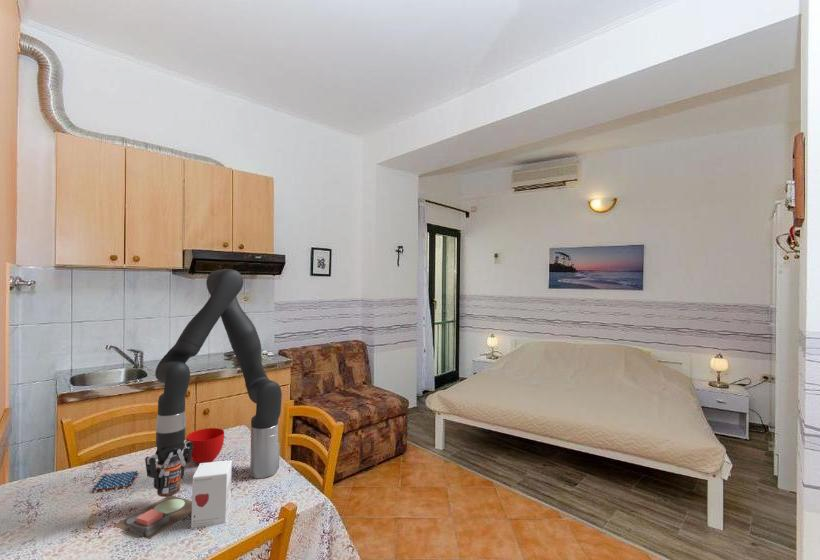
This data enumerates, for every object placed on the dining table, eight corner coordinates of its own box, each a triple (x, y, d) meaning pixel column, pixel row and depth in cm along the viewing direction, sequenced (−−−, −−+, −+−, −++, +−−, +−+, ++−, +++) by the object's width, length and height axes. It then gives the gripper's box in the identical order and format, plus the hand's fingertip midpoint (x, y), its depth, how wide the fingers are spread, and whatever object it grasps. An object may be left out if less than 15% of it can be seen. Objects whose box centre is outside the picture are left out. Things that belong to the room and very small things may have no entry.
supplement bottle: (169, 499, 113) (170, 459, 113) (152, 496, 114) (153, 457, 114) (185, 488, 119) (186, 451, 119) (168, 486, 120) (169, 449, 120)
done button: (152, 516, 110) (152, 508, 110) (163, 519, 108) (163, 512, 108) (136, 525, 106) (136, 517, 106) (147, 528, 104) (147, 521, 104)
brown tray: (170, 497, 123) (170, 488, 123) (204, 508, 118) (204, 498, 118) (112, 529, 107) (112, 518, 107) (148, 542, 102) (149, 531, 102)
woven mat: (130, 489, 128) (130, 483, 128) (91, 495, 125) (91, 489, 125) (139, 475, 138) (139, 469, 138) (103, 480, 134) (103, 474, 134)
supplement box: (189, 532, 106) (191, 477, 107) (197, 513, 115) (198, 462, 115) (226, 526, 109) (227, 473, 109) (231, 508, 118) (232, 459, 118)
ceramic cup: (168, 470, 140) (169, 443, 140) (203, 451, 157) (203, 426, 157) (199, 475, 137) (199, 446, 138) (231, 455, 154) (231, 429, 154)
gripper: (156, 438, 109) (154, 498, 108) (201, 421, 122) (199, 475, 122) (138, 433, 111) (136, 493, 111) (183, 418, 125) (182, 471, 125)
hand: (169, 483), depth 117 cm, fingers closed on supplement bottle, 6 cm apart
